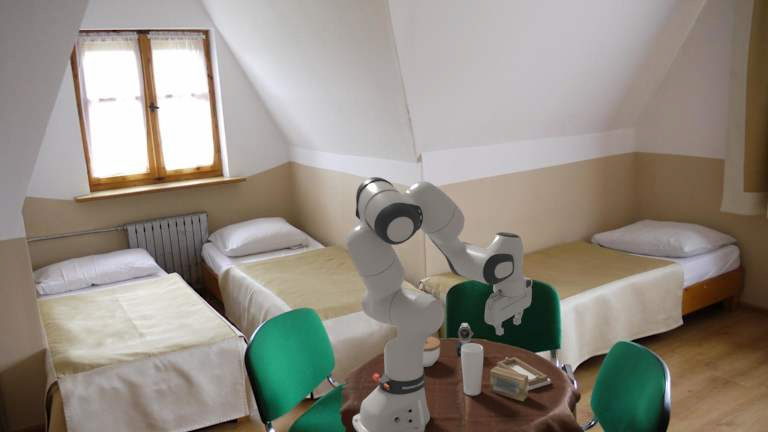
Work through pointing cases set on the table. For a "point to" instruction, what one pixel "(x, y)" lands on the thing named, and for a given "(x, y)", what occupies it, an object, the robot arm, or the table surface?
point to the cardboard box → (509, 383)
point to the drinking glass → (472, 368)
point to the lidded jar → (431, 351)
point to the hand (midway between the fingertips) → (508, 328)
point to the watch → (463, 336)
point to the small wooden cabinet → (525, 372)
